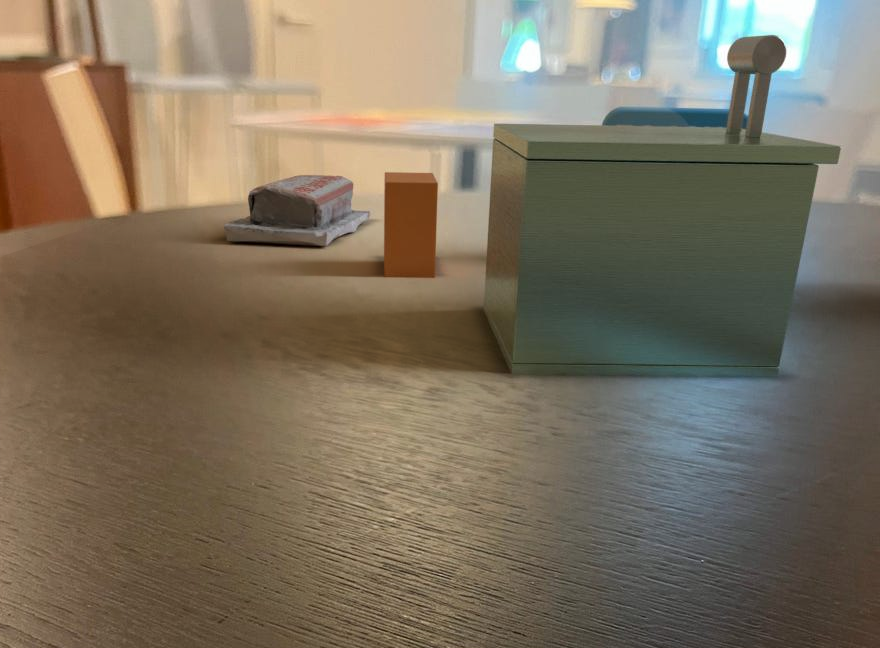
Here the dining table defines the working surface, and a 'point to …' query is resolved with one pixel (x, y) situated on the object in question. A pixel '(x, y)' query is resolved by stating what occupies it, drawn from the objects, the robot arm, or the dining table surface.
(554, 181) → the bin
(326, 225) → the packaged product
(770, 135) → the bin lid
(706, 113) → the data package
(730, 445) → the dining table surface
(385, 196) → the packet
